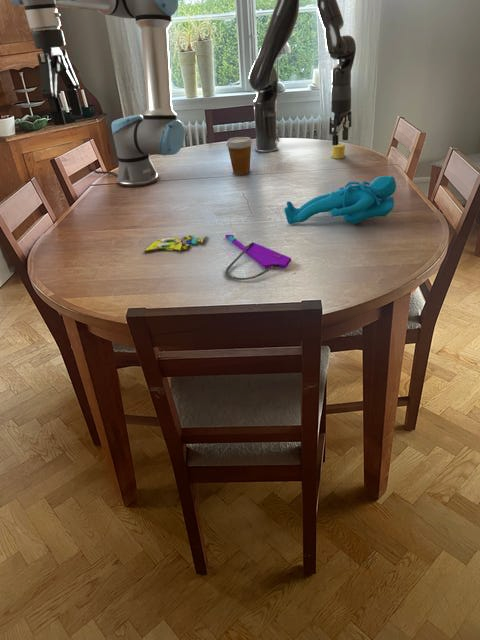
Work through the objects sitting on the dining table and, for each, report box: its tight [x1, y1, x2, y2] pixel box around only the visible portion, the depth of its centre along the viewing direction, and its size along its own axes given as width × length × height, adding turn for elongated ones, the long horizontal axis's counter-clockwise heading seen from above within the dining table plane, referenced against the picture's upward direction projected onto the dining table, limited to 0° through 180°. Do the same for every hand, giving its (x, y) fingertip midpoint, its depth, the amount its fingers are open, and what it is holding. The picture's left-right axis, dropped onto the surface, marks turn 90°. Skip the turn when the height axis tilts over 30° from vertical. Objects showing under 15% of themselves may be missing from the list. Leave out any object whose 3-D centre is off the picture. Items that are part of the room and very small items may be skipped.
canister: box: [331, 143, 346, 160], centre depth 190 cm, size 5×5×4 cm
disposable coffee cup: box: [226, 136, 253, 176], centre depth 180 cm, size 10×10×12 cm
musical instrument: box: [224, 234, 292, 281], centre depth 118 cm, size 24×2×20 cm
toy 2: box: [283, 175, 397, 225], centre depth 132 cm, size 17×11×30 cm
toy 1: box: [144, 234, 207, 254], centre depth 130 cm, size 10×1×15 cm
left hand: (69, 119), depth 132 cm, fingers open, 13 cm apart
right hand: (340, 142), depth 188 cm, fingers open, 8 cm apart
